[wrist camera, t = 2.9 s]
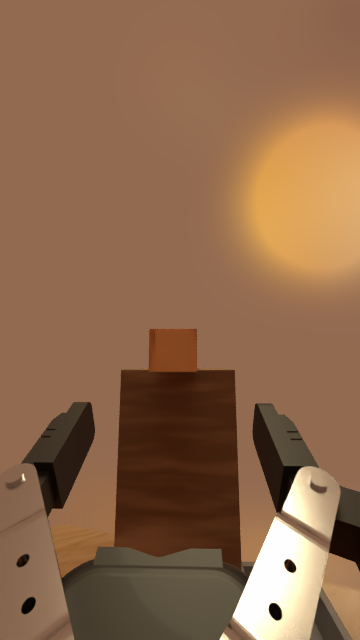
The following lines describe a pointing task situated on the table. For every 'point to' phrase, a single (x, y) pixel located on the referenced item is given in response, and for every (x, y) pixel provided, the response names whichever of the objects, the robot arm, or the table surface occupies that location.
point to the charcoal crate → (318, 615)
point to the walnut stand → (178, 463)
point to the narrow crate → (173, 350)
